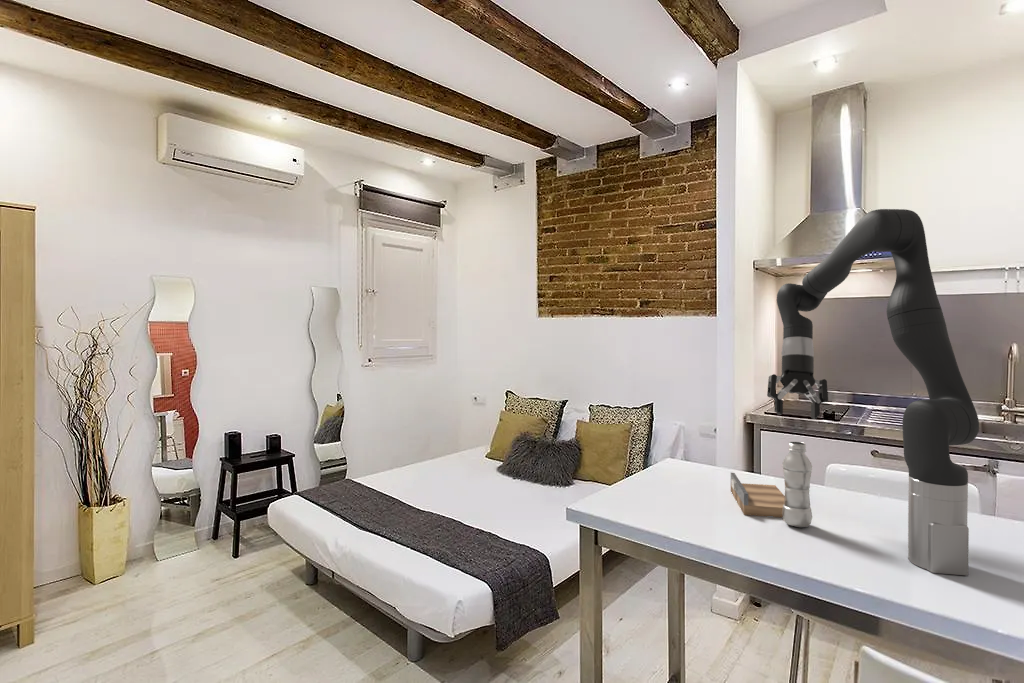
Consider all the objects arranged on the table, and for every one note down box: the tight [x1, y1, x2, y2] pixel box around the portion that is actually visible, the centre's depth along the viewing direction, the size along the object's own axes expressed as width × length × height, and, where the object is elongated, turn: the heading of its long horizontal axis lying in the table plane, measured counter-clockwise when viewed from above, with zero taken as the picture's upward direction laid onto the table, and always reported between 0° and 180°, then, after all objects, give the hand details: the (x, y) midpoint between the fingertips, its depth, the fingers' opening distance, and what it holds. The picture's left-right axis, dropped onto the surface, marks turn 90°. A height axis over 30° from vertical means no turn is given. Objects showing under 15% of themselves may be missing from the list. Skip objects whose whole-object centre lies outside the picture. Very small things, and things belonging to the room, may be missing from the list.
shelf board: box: [730, 482, 785, 518], centre depth 142 cm, size 20×12×2 cm, turn 166°
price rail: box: [730, 472, 748, 505], centre depth 144 cm, size 20×2×3 cm, turn 166°
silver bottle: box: [782, 441, 813, 528], centre depth 126 cm, size 6×7×20 cm
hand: (797, 416), depth 137 cm, fingers open, 8 cm apart
